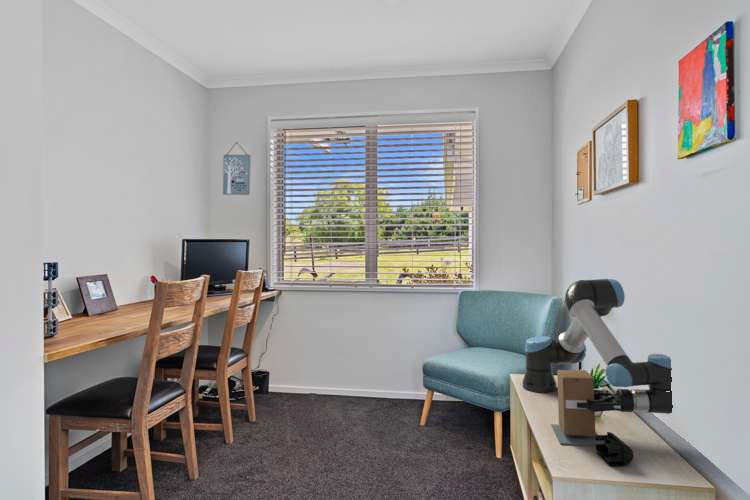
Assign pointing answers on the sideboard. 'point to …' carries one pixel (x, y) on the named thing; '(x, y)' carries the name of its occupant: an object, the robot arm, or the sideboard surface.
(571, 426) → the wooden block
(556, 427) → the mat
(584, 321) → the robot arm
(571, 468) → the sideboard surface
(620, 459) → the black rounded block
